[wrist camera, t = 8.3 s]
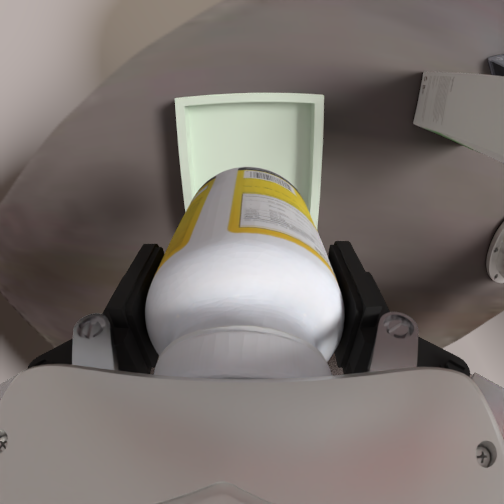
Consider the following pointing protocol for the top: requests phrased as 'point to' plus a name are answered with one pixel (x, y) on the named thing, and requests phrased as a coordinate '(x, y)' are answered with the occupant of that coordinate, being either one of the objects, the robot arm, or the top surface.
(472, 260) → the top surface
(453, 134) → the skincare box
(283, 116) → the tray
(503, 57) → the external hard drive
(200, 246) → the pill bottle
